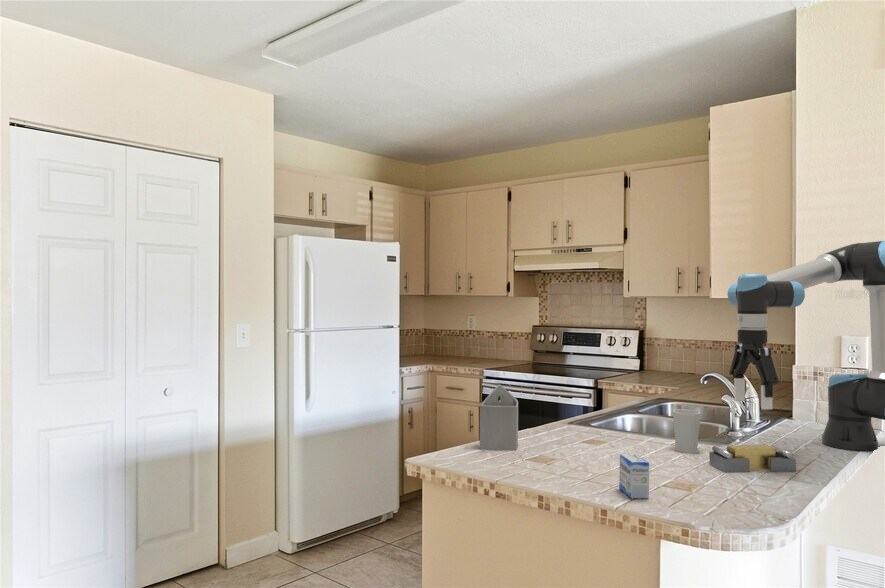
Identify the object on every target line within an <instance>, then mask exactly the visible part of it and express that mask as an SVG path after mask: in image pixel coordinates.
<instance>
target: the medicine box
mask: <svg viewBox="0 0 885 588" xmlns="http://www.w3.org/2000/svg"><path fill="white" fill-rule="evenodd" d="M618 475H619V476H618V477H619V478H618V479H619V481H618V484H619V485H618V486H619V487H618V488H619V490H620V491H621V490H622V491H623V492H622V491H621V492H622V493H624V494H625V495H626V496H627V495H628V496H627V497H629V499H631V498H648V499H650V463H649V462H648V461H646V460H645V459H644V458H642V457H641V456H639V455H638V454H634V453H624V454H623V453H621V454H619V473H618Z"/></svg>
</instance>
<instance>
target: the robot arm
mask: <svg viewBox="0 0 885 588" xmlns="http://www.w3.org/2000/svg"><path fill="white" fill-rule="evenodd" d="M842 281H862V287H863V288H864V289H866V290H867V292H868V295H869V296H868V297H869V321H870V322H869V323H870V346H871V347H870V348H871V369H872V370H870V372H868V373H850V374H849V373H845V374H844V373H842V374H841V373H840V374H832V375H830V377H829V379H828V386H827V389H828V390H827V391H828V392H827V393H828V395H827V396H828V397H827V398H828V402H827V403H828V420H827V423H826V426H825V427H824V430H823V433H822V436H821V443H822V444H824V445H825V446H828V447H831V448H837V449H841V450H842V449H843V450H850V451H861V452H862V451H863V452H868V451H869V452H870V451H877V450H878V449H879V440H878V439H877V435H876V433H875V430H874V427H873V422H872V418H873V419H878V420H883V421H885V240H880V241H879V240H878V241H869V242H868V241H867V242H858V243H857V242H856V243H852V244H848V245H845V246H842V247H838V248H836V249H833V250H831V251H827V252H826V253H821V254H820V255H818V256H817V257H816V258H815V259H813V260H810V261H807V262H804V263H802V264H801V263H800V264H798V265H795V266H792V267H789V268H786V269H783V270H779V271H776V272H773V273H770V274H767V275H766V274H765V273H746V274H745V273H744V274H740V275H739V276H737V282H734V283H732V284H731V285H730V286H729V288H728V289H727V300H728V301H729V303H730V304H731V305H732V306H735V307H737V317H736V320H737V327H738V328H739V329H737V342H738V343H739V344H735V346H734V354H733V358H732V361H731V365H730V369H729V375H730V376H732V377H733V381H734V385H733V386H734V387H733V388H734V389H733V390H734V397H733V398H734V402H745V401H746V392H745V391H746V385H745V384H746V382H745V381H746V380H745V377H746V376H745V373H746V371H747V369H748V368H749V365H750V364H752V365H754V366H755V368H756V370H757V373H758V376H759V378H760V380H761V383H760V400H761V401H760V403H761V404H760V407H761V408H760V409H761V410H762V411H763V410H773V394H774V392H773V390H774V389H773V386H774V385H778V383H779V379H778V375H777V372H776V368H775V367H776V366H775V364H774V361H773V358H772V348H771V347H764V344H768V331H767V330H766V329H767V328H768V309H769V308H786V309H787V308H788V309H791V308H796V307H799V306H800V305H802V304H803V303H804V301H805V297H806V294H805V292H806V291H805V289H809V288H811V287H815V286H817V285H820V284H823V283H827V284H834V283H836V282H842Z"/></svg>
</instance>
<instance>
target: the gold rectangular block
mask: <svg viewBox="0 0 885 588" xmlns="http://www.w3.org/2000/svg"><path fill="white" fill-rule="evenodd" d="M772 446H773V445H769V444H747V445H746V444H741V445H740V444H738V445H737V444H736V445H735V444H734V445H726V451H727V452H729V453H731V454H732V455H733V458H748V459H750V471H758V470H759V471H760V470H761V471H766V470H767V471H768V458H775V457H776V448H774V447H772Z"/></svg>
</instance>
